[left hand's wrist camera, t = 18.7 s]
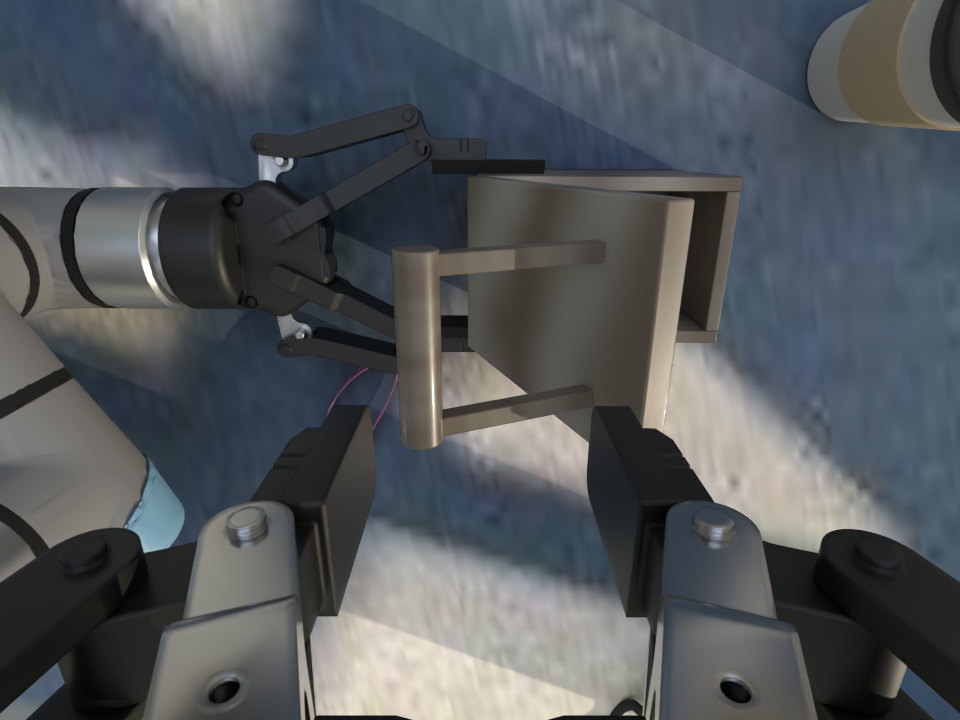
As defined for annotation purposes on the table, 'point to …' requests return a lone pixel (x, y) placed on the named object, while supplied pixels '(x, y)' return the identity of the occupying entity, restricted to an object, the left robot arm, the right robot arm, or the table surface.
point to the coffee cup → (891, 65)
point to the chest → (707, 235)
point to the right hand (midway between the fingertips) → (538, 250)
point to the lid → (547, 306)
